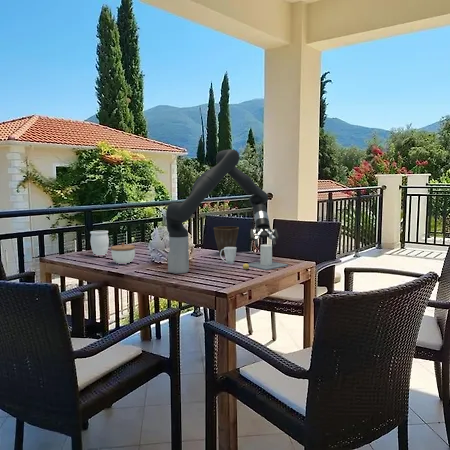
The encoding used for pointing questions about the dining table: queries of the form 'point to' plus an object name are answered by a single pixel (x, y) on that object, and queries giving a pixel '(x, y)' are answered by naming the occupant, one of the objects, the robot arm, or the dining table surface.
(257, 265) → the rubber mat
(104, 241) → the jar
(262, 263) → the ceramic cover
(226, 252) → the cup
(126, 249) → the lidded bowl
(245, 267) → the ball
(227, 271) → the dining table surface
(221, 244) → the plant pot
